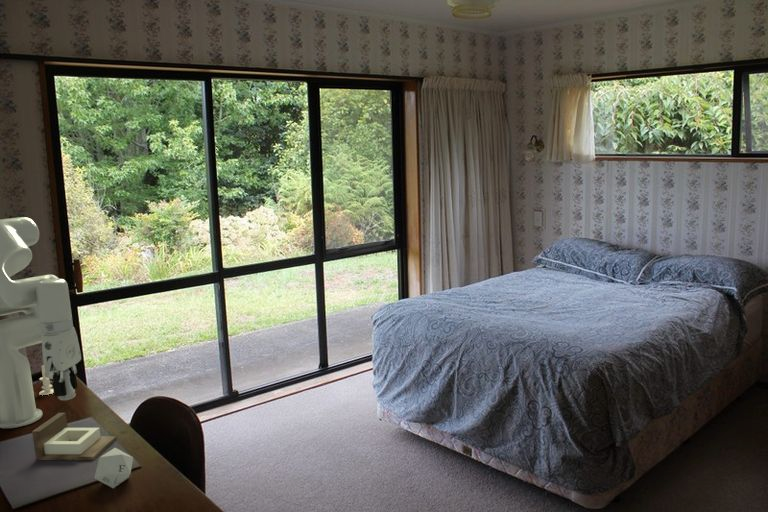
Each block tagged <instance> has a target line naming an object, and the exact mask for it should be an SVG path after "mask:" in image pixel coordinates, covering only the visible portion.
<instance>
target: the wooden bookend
mask: <svg viewBox="0 0 768 512" xmlns="http://www.w3.org/2000/svg"><path fill="white" fill-rule="evenodd" d="M64 428H69V427H68V419H67V412H58V413H56V414H55V415H54V416H52V417H50V418H49V419H48V420H47V421H45V422H43V423H42V424H40V425H39V426H38V427H36V428H35V429H34V430H32V433H31V434H32V439H33V440H32V441H33V447H34V453H35V461H62V460H61V459H71V460H70V461H94V460H96V459H97V458H99V457H100V456H101V454H102V453H104V452H105V451H106V450H107V449H108V448H109V447H110V446H111V445H112V444H113V443H115V442H116V441H117V440H118V439H117V436H116V435H113V436H112V435H109V436H106V435H104V436H103V435H102V436H101V435H100V436H101V438H100V439H98V440H97V441H96V442H95V443H94V444H92V445H91V446H90V447H89V448H88V449H87V450H85V451H84V452H83V453H82V454H45V450H44V443H46V442H47V441H48V440H50V439H51V438H52V437H54V436H55V435H56V434H58V433H59V432H60V431H62V430H63V429H64ZM69 441H78V440H69ZM114 441H115V442H114ZM105 449H106V450H105ZM96 457H97V458H96ZM95 458H96V459H95ZM72 459H74V460H72Z"/></svg>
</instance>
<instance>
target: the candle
mask: <svg viewBox="0 0 768 512" xmlns="http://www.w3.org/2000/svg"><path fill="white" fill-rule="evenodd" d="M41 374H42V377H40V378H39V379H38V380H40V381H42V386H41V389H42V390H41V391H40V392H39V393H38V394H39V395H38V396H40V395H42V396H41V397H44V396H43V395H48V396H50V395H49V394H52V395H54V394H53V393H54V390H53V384H51V380H50V379H49V378H47V377H45V376H44V374H45V367H44V364H43V365H41Z"/></svg>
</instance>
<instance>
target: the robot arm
mask: <svg viewBox="0 0 768 512" xmlns="http://www.w3.org/2000/svg"><path fill="white" fill-rule="evenodd" d="M39 239H40V230H39V227H38V225H37V223H36V222H35V221H34V220H33V219H32V218H29V217H26V216H21V217H11V218H3V219H0V317H1V316H6V315H12V314H17V313H20V312H21V313H24V314H22V315H19V316H13V317H8V318H4V319H0V429H15V428H20V427H23V426H28V425H31V424H33V423H35V422H37V421H38V420H40V419H41V418H42V417H43V411H42V409H40V408H37V407H36V401H35V394H34V387H33V379H32V372H31V371H32V370H31V365H30V361H29V359H28V358H27V357H26V356H25V355H23V354H22V353H21V352H20V351H19V350H20V349H23V348H27V347H30V346H34V345H35V346H36V345H38V344H41V348H42V349H41V351H42V361H43V365H44V367H45V374H44V376H45V377H47V378H49V379H50V383H52V389H53V390H54V394H53V396H54V397H58V396H66V395H67V393H66V385H65V381H63V371H65V370H67V369H68V368H69V370H70V373H69V376H70V382H71V385H72V387H73V389H75V390H76V389H78V380H77V372H78V370H77V366H78V363H79V362H81V360H82V353H81V349H80V348H81V347H80V343H79V338H78V334H77V331H76V328H75V327H74V324H73V316H72V315H73V314H72V308H71V307H72V306H71V300H70V292H69V286H68V285H69V284H68V282H67V281H66V280H65V279H64V278H59V277H58V276H56V275H54V274H44V275H37V276H33V277H31V276H30V277H26V278H21V279H15V280H12V279H11V277H13V276H14V275H16V274H18V273H19V272H21V271H23V270H24V269H25V268H26V267H28V266H29V265H30V263H31V261H32V259H33V253H32V249H31V248H30V247H31V246H34V245H35V244H37V242H38V241H39ZM57 373H59V375H58V374H57Z"/></svg>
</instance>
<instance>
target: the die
mask: <svg viewBox="0 0 768 512" xmlns="http://www.w3.org/2000/svg"><path fill="white" fill-rule="evenodd" d="M133 462H134V457H133V456H132V455H129V454H128V453H126V452H124V451H122V450H121V449H119V448H117V447H113V448H112V449H110V450H109V451H107V452H106V453H104V454H103V455H100V456H99V457H98V461H97V465H96V470H95V473H94V479H95V480H97V481H99V482H100V483H102V484H104V485H106V486H108V487H110V488H111V489H115V488H116V487H118V486H119V485H120V484H122V483H124V482H125V481H127V480H128V479H129V477H130V475H131V472H132V468H133Z"/></svg>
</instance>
